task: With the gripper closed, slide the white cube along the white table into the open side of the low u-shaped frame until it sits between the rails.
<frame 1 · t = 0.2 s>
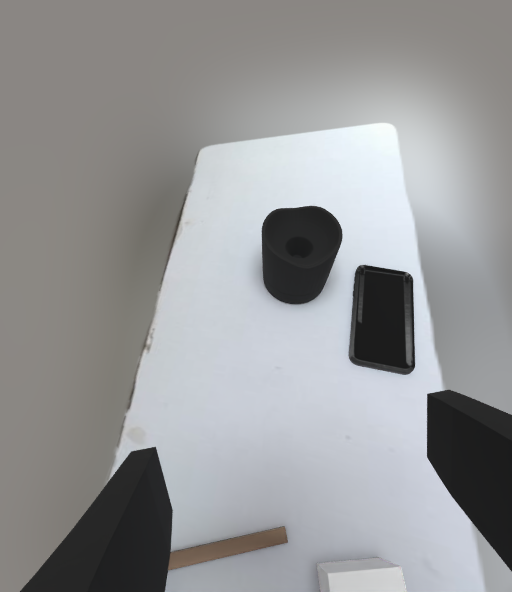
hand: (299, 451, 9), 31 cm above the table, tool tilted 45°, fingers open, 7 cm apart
phone: (380, 318, 47), on the table
pen holder: (293, 279, 50), on the table
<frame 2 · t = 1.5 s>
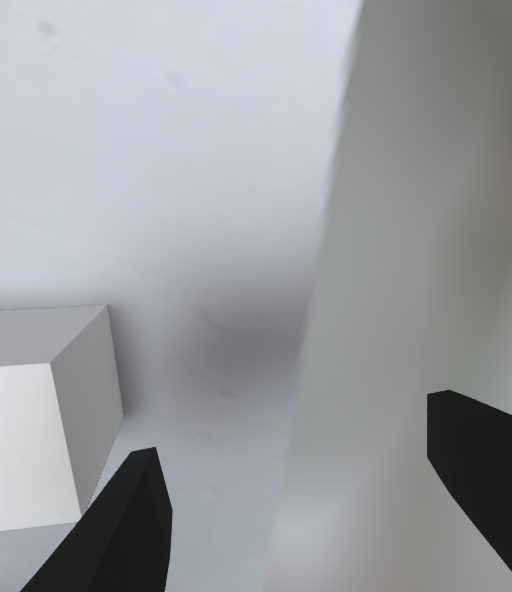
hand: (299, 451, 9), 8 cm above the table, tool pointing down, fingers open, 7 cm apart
white cube: (53, 365, 17), on the table
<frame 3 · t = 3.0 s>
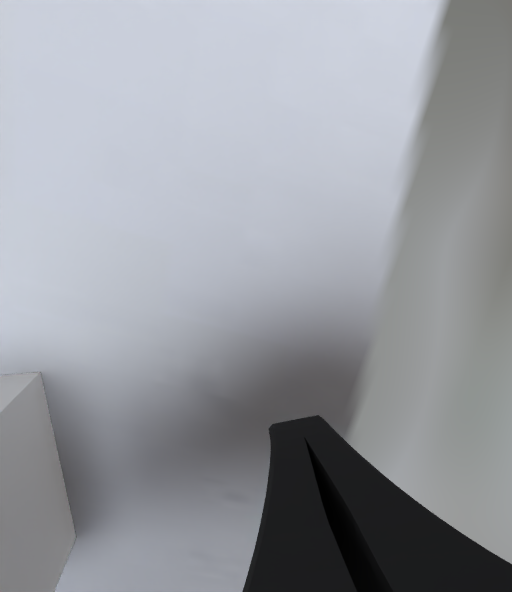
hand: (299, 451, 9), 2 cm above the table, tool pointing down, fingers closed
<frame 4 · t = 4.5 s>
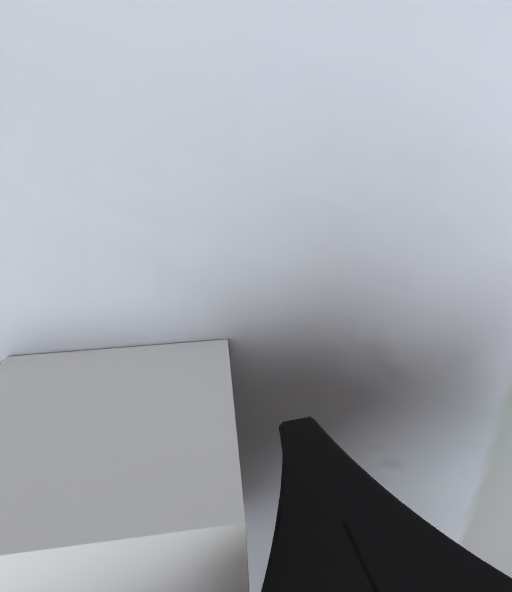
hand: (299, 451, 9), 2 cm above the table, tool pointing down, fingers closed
white cube: (136, 433, 11), on the table, touching gripper
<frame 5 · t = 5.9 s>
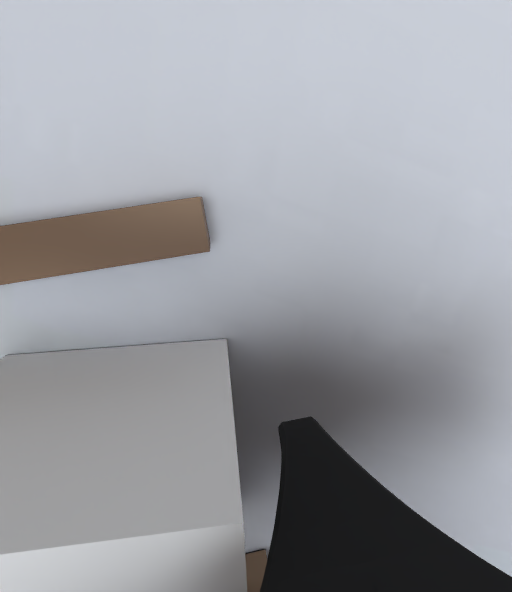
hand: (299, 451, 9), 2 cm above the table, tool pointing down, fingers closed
u-shaped frame: (43, 457, 10), on the table
white cube: (135, 433, 11), on the table, touching gripper
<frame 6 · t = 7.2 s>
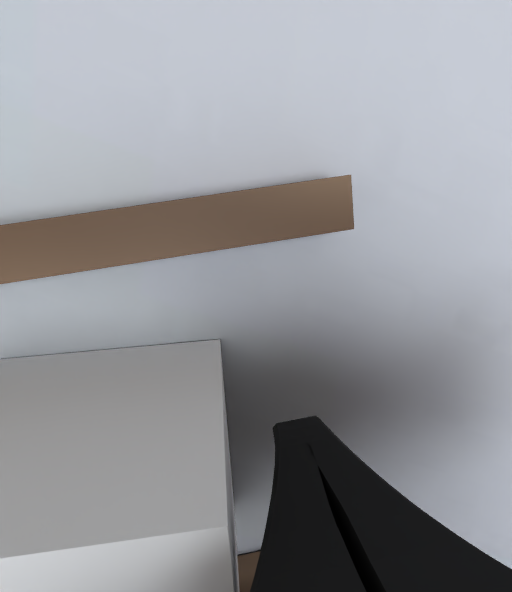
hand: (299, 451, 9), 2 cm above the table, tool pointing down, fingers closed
u-shaped frame: (156, 435, 11), on the table
white cube: (130, 434, 11), on the table, touching gripper
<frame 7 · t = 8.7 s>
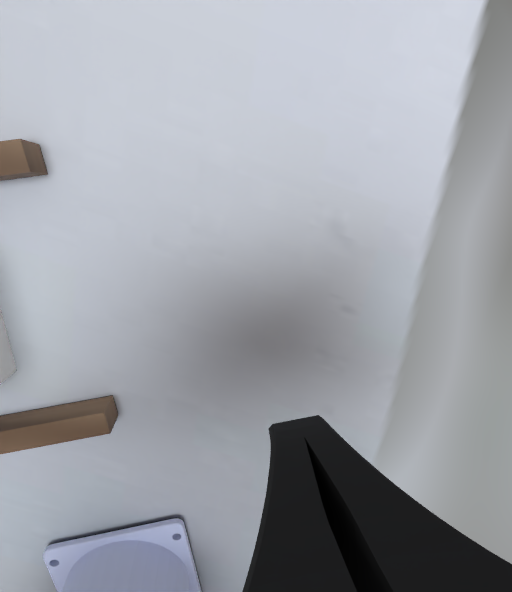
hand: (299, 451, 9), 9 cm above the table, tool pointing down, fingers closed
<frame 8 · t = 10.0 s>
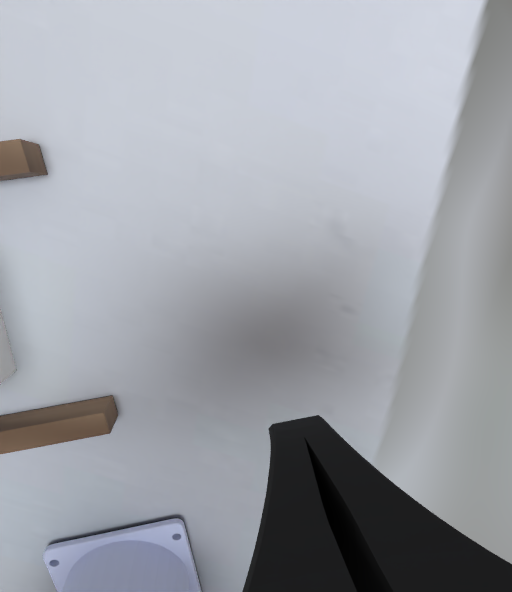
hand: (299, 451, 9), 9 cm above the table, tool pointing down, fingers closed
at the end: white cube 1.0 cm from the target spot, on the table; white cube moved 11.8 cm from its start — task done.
